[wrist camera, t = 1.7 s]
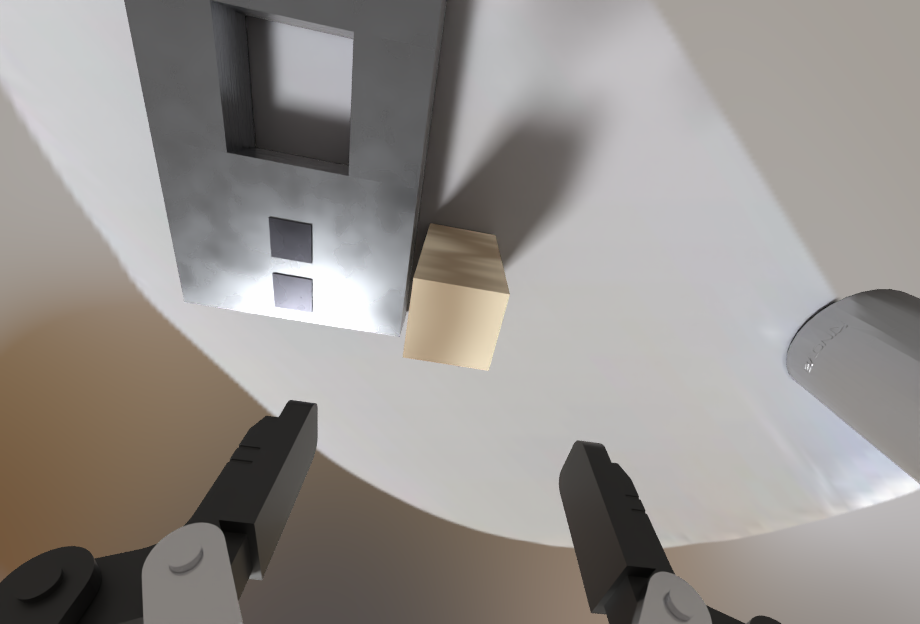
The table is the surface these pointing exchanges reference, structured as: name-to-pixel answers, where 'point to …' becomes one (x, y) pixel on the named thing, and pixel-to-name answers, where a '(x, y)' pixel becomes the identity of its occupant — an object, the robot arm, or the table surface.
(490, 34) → the table surface
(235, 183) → the metal socket plate
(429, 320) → the maple block
